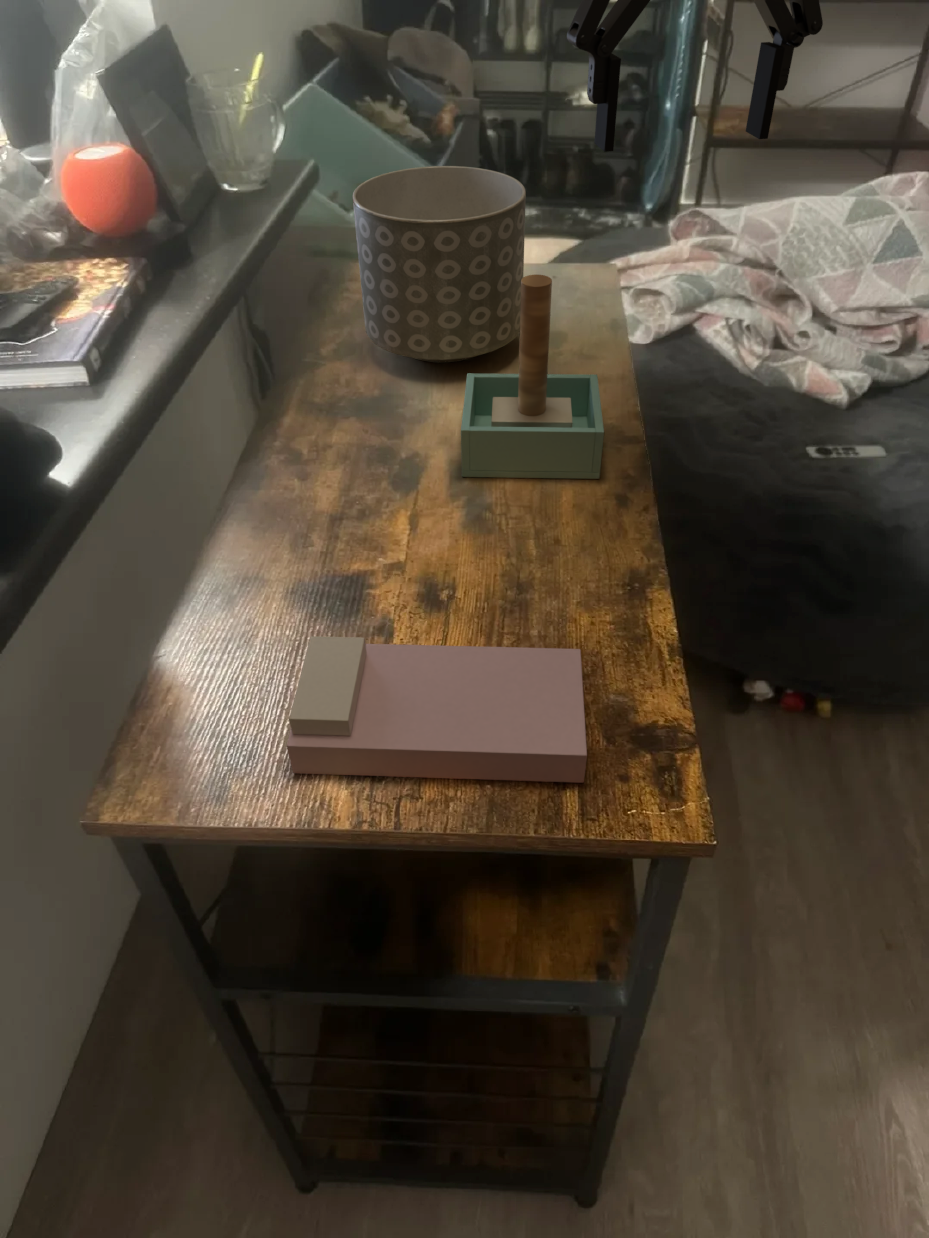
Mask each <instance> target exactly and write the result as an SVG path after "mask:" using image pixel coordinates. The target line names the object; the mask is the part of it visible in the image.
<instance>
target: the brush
mask: <svg viewBox="0 0 929 1238" xmlns="http://www.w3.org/2000/svg"><path fill="white" fill-rule="evenodd" d="M552 289H553V280H552V278H551V277H550V276H548V275H545V274H528V275H526V276H525V275H524V276H523V278H522V280H521V305H520V332H519V348H518V374H519V384H518V397H493V402H492V418H491V427H560V428H572V424H573V422H572V407H571V398H552V397H546V394H547V374H549V373H548V370H549V354H550V353H549V352H550V334H551V333H550V332H551V331H550V330H551V312H552V311H551V310H552V292H553V290H552Z"/></svg>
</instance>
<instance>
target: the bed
mask: <svg viewBox="0 0 929 1238" xmlns="http://www.w3.org/2000/svg"><path fill="white" fill-rule="evenodd" d="M583 681H584V680H583V665H582V650H581V648H554V647H551V648H550V647H516V646H515V647H511V646H477V645H475V646H474V645H472V646H471V645H439V644H437V645H436V644H432V645H431V644H398V643H397V644H394V643H393V644H392V643H366V638H365V637H362V636H361V637H359V636H323V635H322V636H320V635H319V636H317V635H311V636H310V637H309V642H308V645H307V650H306V653H305V656H304V659H303V664H302V668H301V671H300V676H299V679H298V682H297V687H296V689H295V690H296V691H295V694H294V698H293V702H292V705H291V709H290V713H289V717H288V721H289V725H290V731H289V735H288V739H287V741H286V742H287V743H286V749H287V753H288V756H289V761H290V766H291V769H292V773H293V774H304V775H305V774H307V775H337V776H363V777H364V776H365V777H367V776H368V777H394V778H395V777H397V778H423V779H424V778H427V779H455V780H457V779H459V780H485V781H486V780H489V781H490V780H491V781H514V782H515V781H517V782H518V781H519V782H520V781H521V782H548V783H549V782H550V783H551V782H552V783H579V784H583V783H584V782H585V775H586V767H587V760H588V759H587V758H588V749H587V747H588V746H587V745H588V744H587V731H586V716H585V715H586V714H585V713H586V712H585V698H584V682H583Z"/></svg>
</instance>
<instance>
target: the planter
mask: <svg viewBox="0 0 929 1238" xmlns="http://www.w3.org/2000/svg"><path fill="white" fill-rule="evenodd" d="M526 191H527V190H526V188H525V186H524V185H523V184H522V182H521V181H520V180H518V179H516V178H515V177H513V176H511V175H509V174H506V173H503V172H500V171H496V170H493V169H492V170H491V169H486V168H480V167H474V166H473V167H472V166H463V165H462V166H458V165H432V166H418V167H410V168H404V169H403V168H402V169H398V170H393V171H390V172H386V173H385V172H384V173H382V174H379V175H376V176H373V177H370V178H369V179H367V180H365V181H363V182H362V183H360V184H359V185H358V186H357V187H356V188H355V189H354V191H353V193H352V206H353V216H354V226H355V227H354V228H355V234H356V235H355V236H356V237H355V238H356V247H357V257H358V258H357V259H358V267H359V268H358V269H359V278H360V287H361V288H360V289H361V299H362V308H363V318H364V330H365V333H366V335H367V337H368V339H369V340H370V341H371V342H372V343H373V344H374V345H376V346H378V347H379V348H381V349H383V350H385V351H387V352H389V353H393V354H395V355H397V356H398V355H399V356H403V357H407V358H413V359H414V360H418V361H423V362H428V363H440V364H443V363H445V364H446V363H454V362H455V363H456V362H462V361H465V360H469V359H472V358H475V357H477V356H481V355H485V354H488V353H492V352H494V351H497V350H499V349H501V348H503V347H505V346H506V345H508V344H510V343H511V342H512V341H514V340H515V339H516V338H517V337H518V335H520V305H521V280H522V278H523V277H524V267H525V265H524V264H525V235H526V233H525V229H526V202H527V201H526V197H527V196H526V195H527V193H526Z"/></svg>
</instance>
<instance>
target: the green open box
mask: <svg viewBox="0 0 929 1238" xmlns="http://www.w3.org/2000/svg"><path fill="white" fill-rule="evenodd" d="M465 380H466V381H465V391H464V399H463V407H462V416H461V427H460V451H461V453H460V454H461V456H460V457H461V477H462V478H503V479H504V478H506V479H507V478H508V479H509V478H511V479H573V480H574V479H576V480H577V479H579V480H580V479H581V480H584V479H585V480H600V478H601V467H602V458H603V457H602V456H603V449H604V438H605V427H604V421H603V420H604V419H603V411H602V402H601V395H600V386H599V378H598V374H579V373H578V374H577V373H576V374H575V373H573V374H572V373H568V374H567V373H548V374H547V394H546V397H552V398H571V407H572V422H573V424H572V428H560V427H491V418H492V402H493V397H518V384H519V373H474V372H472V373H470V372H469V373H468V372H467V374H466V379H465Z"/></svg>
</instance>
